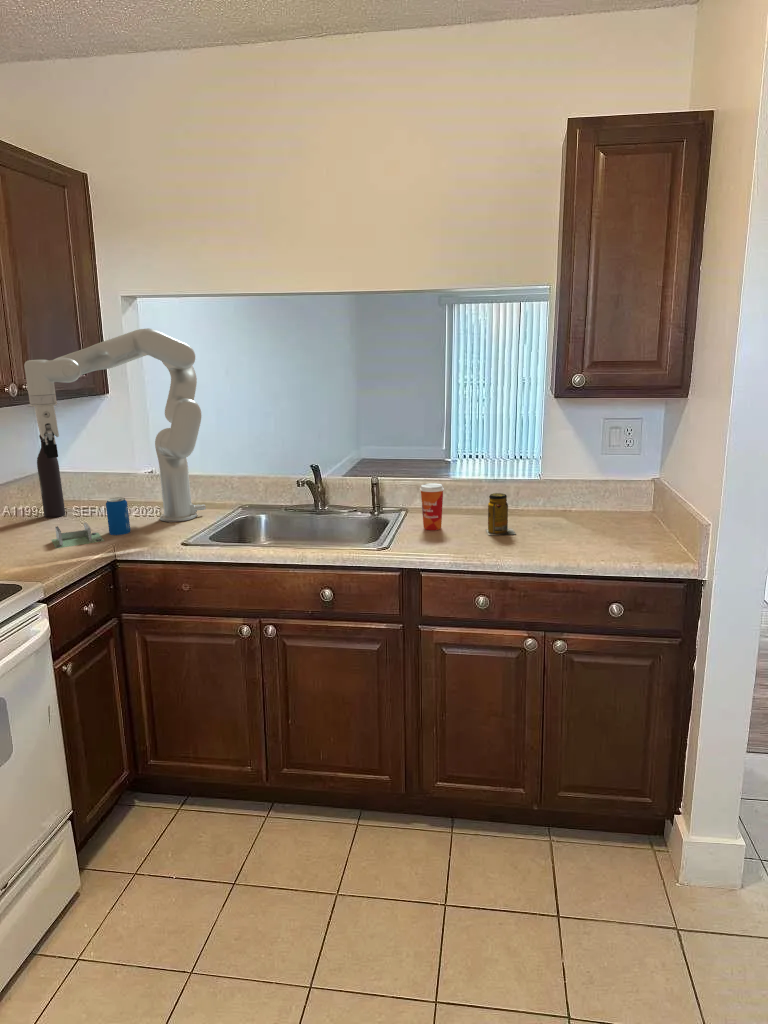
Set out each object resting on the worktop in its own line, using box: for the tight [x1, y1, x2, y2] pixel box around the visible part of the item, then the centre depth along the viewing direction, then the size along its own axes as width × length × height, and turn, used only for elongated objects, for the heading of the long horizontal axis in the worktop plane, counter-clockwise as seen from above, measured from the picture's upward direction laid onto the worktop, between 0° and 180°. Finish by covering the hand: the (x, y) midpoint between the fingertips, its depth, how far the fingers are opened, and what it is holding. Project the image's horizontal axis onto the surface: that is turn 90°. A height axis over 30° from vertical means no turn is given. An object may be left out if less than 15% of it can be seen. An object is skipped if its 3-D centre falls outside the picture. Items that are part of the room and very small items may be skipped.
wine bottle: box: [36, 434, 66, 519], centre depth 257 cm, size 7×7×30 cm
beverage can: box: [105, 496, 131, 536], centre depth 229 cm, size 6×6×12 cm
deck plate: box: [51, 532, 105, 550], centre depth 223 cm, size 14×12×1 cm
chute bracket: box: [55, 521, 92, 546], centre depth 221 cm, size 9×9×4 cm
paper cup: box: [419, 482, 445, 531], centre depth 226 cm, size 8×8×14 cm
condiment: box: [485, 492, 517, 536], centre depth 219 cm, size 7×8×12 cm
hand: (51, 455), depth 224 cm, fingers open, 9 cm apart
